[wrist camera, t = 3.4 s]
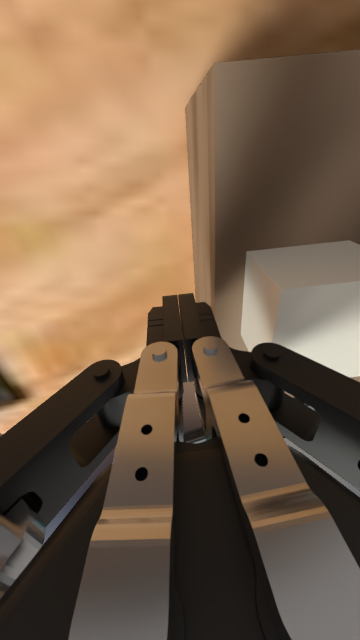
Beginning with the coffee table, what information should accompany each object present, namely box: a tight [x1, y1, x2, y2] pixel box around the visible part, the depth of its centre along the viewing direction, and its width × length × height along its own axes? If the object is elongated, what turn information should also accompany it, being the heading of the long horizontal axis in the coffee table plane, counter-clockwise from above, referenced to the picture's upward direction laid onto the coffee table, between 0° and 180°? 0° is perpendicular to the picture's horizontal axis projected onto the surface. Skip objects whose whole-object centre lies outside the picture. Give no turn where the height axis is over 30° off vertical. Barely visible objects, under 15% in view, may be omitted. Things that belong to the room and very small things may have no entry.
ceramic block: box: [241, 240, 360, 377], centre depth 12 cm, size 5×5×4 cm
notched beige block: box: [185, 49, 360, 398], centre depth 18 cm, size 16×18×10 cm
